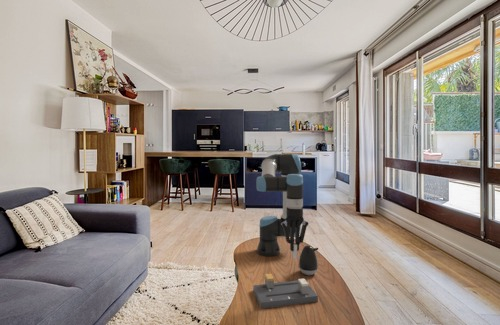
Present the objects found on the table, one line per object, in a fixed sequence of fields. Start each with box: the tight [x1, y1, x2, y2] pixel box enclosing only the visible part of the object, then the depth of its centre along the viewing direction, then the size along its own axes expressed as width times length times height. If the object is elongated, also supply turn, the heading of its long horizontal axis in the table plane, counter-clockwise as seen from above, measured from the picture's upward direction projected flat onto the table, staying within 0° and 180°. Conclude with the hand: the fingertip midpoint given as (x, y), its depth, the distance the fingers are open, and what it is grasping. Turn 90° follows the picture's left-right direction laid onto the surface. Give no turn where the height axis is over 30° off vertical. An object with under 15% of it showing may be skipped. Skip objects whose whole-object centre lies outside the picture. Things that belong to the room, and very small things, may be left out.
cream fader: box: [297, 278, 310, 294], centre depth 120 cm, size 5×3×5 cm, turn 11°
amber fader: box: [264, 273, 275, 289], centre depth 126 cm, size 5×3×5 cm, turn 11°
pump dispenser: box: [298, 244, 319, 276], centre depth 144 cm, size 10×10×15 cm
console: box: [252, 280, 319, 309], centre depth 122 cm, size 15×26×3 cm, turn 101°
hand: (294, 257), depth 124 cm, fingers closed
